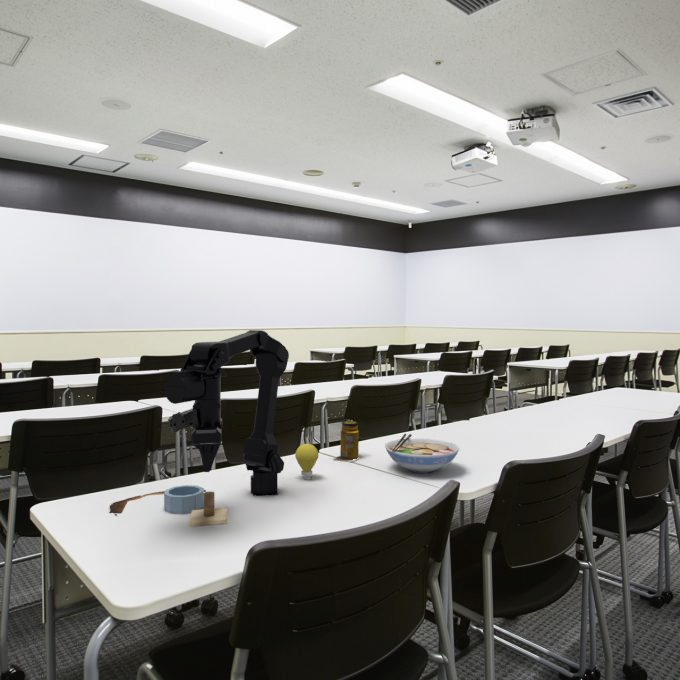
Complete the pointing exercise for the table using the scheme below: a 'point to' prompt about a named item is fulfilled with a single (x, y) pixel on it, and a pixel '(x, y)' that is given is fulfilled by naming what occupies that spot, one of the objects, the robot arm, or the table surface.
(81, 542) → the table surface
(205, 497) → the lid
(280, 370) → the robot arm
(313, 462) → the light bulb
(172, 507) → the bowl
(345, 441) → the condiment
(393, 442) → the ramen bowl
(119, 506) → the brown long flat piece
